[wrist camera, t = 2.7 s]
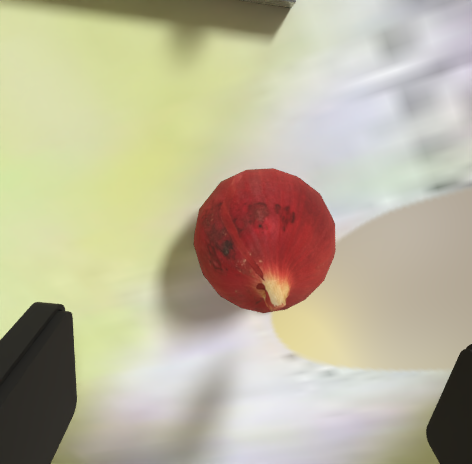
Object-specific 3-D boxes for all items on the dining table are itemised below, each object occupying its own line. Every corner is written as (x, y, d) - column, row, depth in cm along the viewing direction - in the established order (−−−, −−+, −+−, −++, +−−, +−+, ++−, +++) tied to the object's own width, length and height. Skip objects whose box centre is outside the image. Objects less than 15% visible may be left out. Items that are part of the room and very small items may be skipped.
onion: (180, 219, 19) (144, 309, 12) (248, 128, 17) (257, 166, 10) (267, 277, 20) (284, 392, 13) (339, 199, 18) (406, 280, 11)
